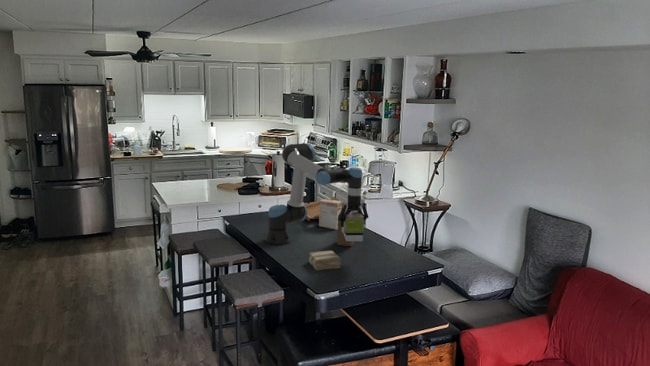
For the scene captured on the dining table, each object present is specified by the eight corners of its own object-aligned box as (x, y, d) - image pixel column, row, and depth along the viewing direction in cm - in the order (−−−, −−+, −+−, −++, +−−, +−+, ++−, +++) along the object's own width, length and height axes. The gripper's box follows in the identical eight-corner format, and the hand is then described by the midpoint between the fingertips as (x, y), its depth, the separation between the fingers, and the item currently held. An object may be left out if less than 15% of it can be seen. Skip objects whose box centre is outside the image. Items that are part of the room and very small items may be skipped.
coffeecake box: (341, 227, 363) (342, 201, 359) (336, 229, 357) (337, 203, 353) (323, 224, 370) (324, 198, 367) (318, 226, 364) (319, 200, 361)
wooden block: (352, 246, 321) (353, 216, 317) (337, 245, 323) (338, 215, 319) (354, 241, 331) (355, 212, 327) (339, 240, 333) (340, 211, 329)
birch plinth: (308, 262, 292) (309, 252, 291) (331, 260, 296) (331, 250, 295) (316, 270, 279) (316, 260, 278) (340, 268, 284) (340, 258, 282)
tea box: (342, 233, 300) (343, 209, 297) (358, 233, 301) (360, 209, 298) (345, 241, 285) (346, 216, 282) (363, 241, 286) (364, 216, 283)
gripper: (338, 197, 279) (337, 235, 284) (375, 194, 289) (373, 230, 294) (332, 194, 286) (331, 231, 290) (369, 191, 296) (367, 227, 300)
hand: (352, 231), depth 292 cm, fingers closed on tea box, 12 cm apart
